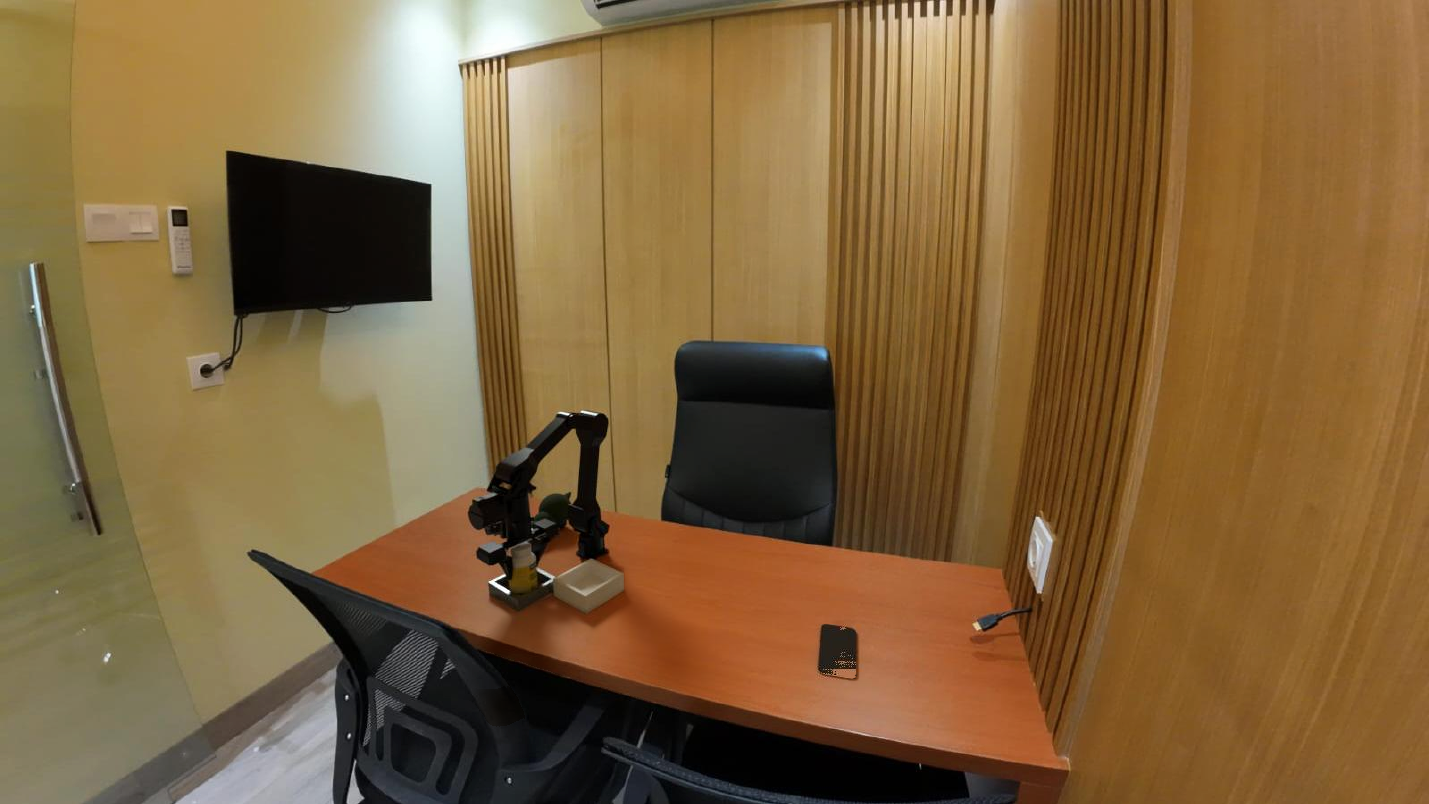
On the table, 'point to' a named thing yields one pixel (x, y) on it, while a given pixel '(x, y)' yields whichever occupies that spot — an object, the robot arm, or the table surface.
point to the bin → (588, 585)
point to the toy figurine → (554, 509)
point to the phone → (836, 648)
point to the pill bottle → (523, 569)
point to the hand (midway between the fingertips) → (522, 573)
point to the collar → (521, 602)
